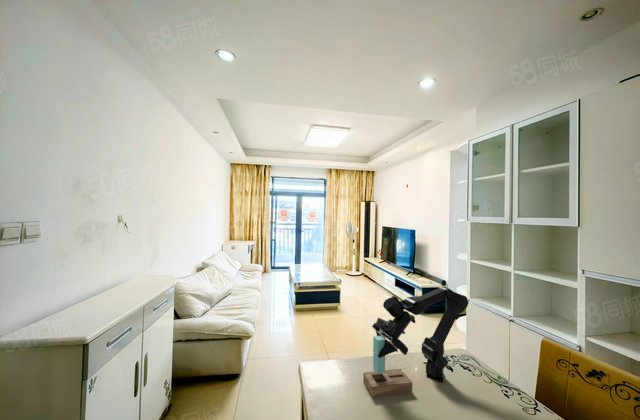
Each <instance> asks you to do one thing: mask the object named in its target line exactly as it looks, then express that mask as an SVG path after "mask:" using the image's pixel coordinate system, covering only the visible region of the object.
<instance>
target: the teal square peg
mask: <svg viewBox="0 0 640 420" xmlns="http://www.w3.org/2000/svg"><path fill="white" fill-rule="evenodd" d="M372 339H373V340H372V341H373V345H372V346H373V347H372V353H373V356H372V359H373V360H372V361H373V362H372V364H373V365H372V366H373V367H372V368H373V370H374V371H375V372H376V373H377V374H380V373H385V370H386V355H385V356H383V357H381V358H379V357H378V354H379V353H380V351H381V350H382V348H383V347H384V345H385V339H384V338H383V337H382V336H377V335H375V336H372Z"/></svg>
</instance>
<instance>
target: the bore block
mask: <svg viewBox="0 0 640 420" xmlns="http://www.w3.org/2000/svg"><path fill="white" fill-rule="evenodd" d="M363 384H364V386H365V388H366V389H367V391H368V393H369V395H370V397H371V398H380V397H389V396H396V395H402V394H403V395H405V394H410V393H412V394H413V381H412V379H410V378H409V377H408V375H406V373H405V371H403V370H402V368H396V369H385V373H380V374H377V373H376V372H375V370H374V371H365V372H363Z"/></svg>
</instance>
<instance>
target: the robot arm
mask: <svg viewBox="0 0 640 420" xmlns="http://www.w3.org/2000/svg"><path fill="white" fill-rule="evenodd" d="M443 300H445V307H446V308H445V311H444V313H443V314H442V316H441V317H440V321H439V322H438V324H437V326H436V328H435V330H434V332H433V334H432V336H431V337H427V336H426V337H425V338H424V340H423V342H422V343H421V348H420V349H421V353H422V355H423V357H424V359H426V360H427V361H426V362H425V374H426V376H425V377H426V378H428V379H432V380H434V381H437V382H440V383H443V382H444V378H445V372H444V371H445V368H446V367H448V363H449V361H448V360H447V359H446V357H444V353H445V345H444V343H445V342H446V339H447V338H448V336H449V334H450V331H451V329H452V327H453V326H454V324H455V322H456V319H457V317H458V316H459V315H460V314H461V313H463V312H465V310H466V309H467V308H468V306H469V303H470V302H469V299H468V297H467V296H466V295H464V294H461V293H457V292H455V291H454V290H452V289H451V288H449V287H445V286H439V287H438V288H436V289H434V290H432V291H429V292H426V293H424V294H422V295H419V296H417V295H416V296H415V295H413V296H408V297H406V298H405V299H403V300H399V298H398V297H397V296H395V295H392V296H391V297H388V298H387V299H385V300H384V301H383V304H382V306H383V308H384V309H385V311H387V313H388V314H389V315H390V316H391V317H393V319H388V320H385V319H383V318H380V317H377V319H376V322H374V323H373V324H372V329H374V330H375V333H376V336H382V337H383V338H384V339H385V345H384V347H383V348H382V350H381V351H380V353H379V354H378V357H379V358H381V357H383V356H385V357H386V356H387V355H391V354H392V353H396V352H397V353H398V352H400V353H401V354H402V355H404V356H406V355H408V352H409V347H407V346H406V344H404V342H403V341H402V340H400V339H399V338H400V336H401V335H402V334H403V335H405V334H406V332H405V330H406V328H407V327H408V325H409V324H410V323H413V324H416V319H415V318H416V317H415V316H419V315H421V314H422V313H424V312H425V311H426V310H427V308H428V306H431V305H434V304H436V303H438V302H440V301H443ZM410 313H411V314H410Z"/></svg>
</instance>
